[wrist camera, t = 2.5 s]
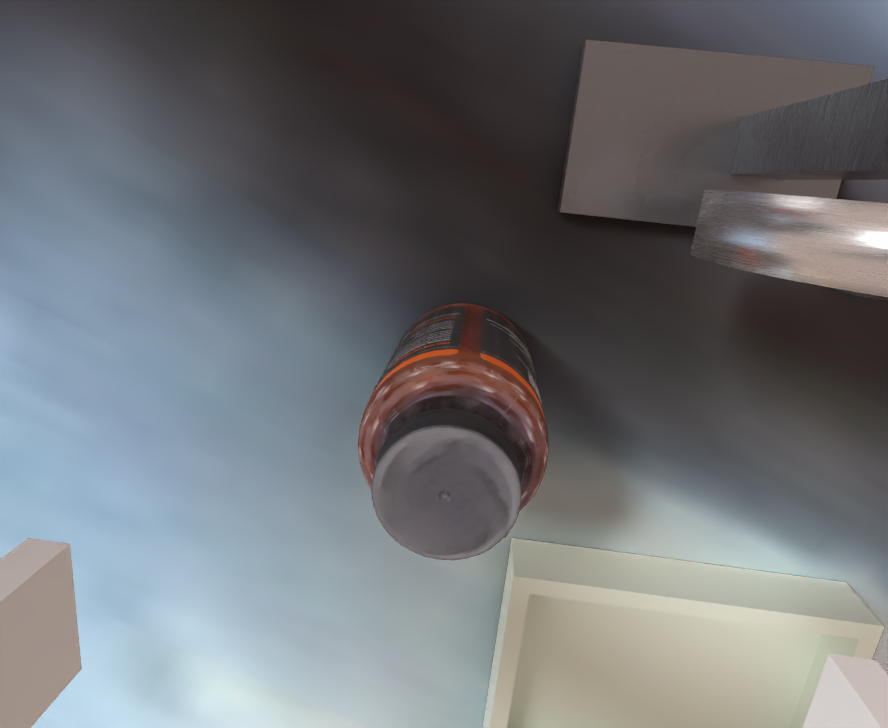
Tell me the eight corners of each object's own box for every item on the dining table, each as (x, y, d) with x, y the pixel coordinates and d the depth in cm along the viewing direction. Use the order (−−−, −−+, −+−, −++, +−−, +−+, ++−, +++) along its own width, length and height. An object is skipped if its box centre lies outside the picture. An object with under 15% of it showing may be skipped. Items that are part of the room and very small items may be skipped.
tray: (483, 724, 32) (481, 776, 29) (511, 537, 29) (513, 576, 26) (779, 768, 31) (807, 825, 29) (846, 582, 28) (885, 626, 25)
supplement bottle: (371, 380, 27) (288, 514, 16) (446, 272, 25) (410, 340, 14) (479, 453, 27) (470, 629, 17) (560, 352, 26) (608, 475, 15)
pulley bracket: (554, 231, 24) (633, 297, 10) (582, 46, 22) (725, -177, 8) (844, 262, 24) (1330, 375, 10) (899, 75, 22) (1609, -111, 8)
